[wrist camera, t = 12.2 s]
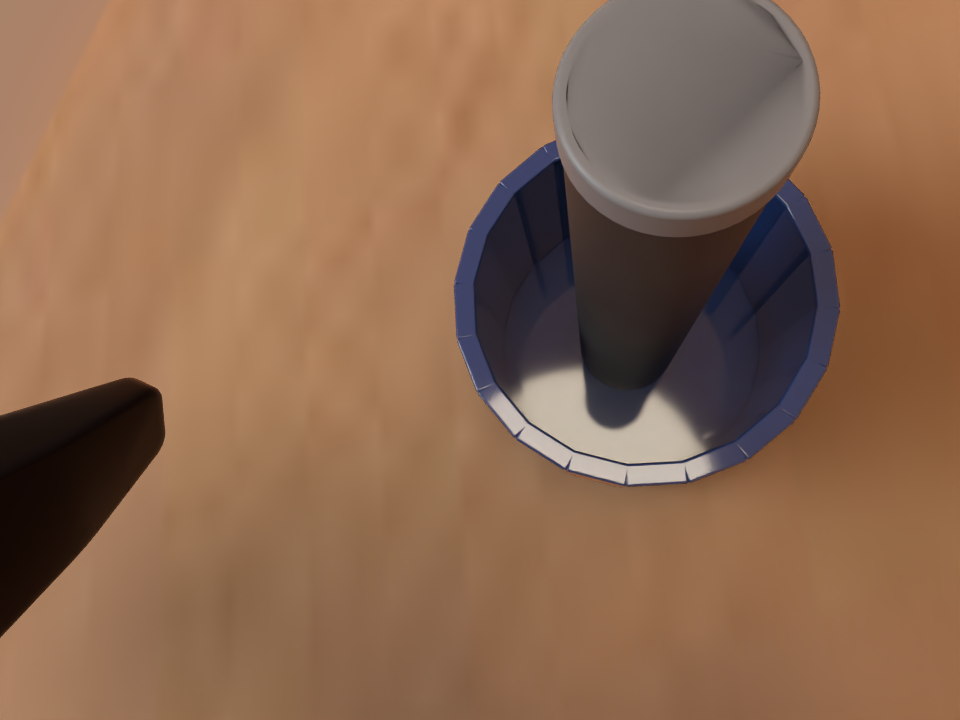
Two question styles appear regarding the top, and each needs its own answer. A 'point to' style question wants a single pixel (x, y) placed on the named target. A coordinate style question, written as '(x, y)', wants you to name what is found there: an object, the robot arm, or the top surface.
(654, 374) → the gray cylinder
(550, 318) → the blue cup
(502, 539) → the top surface
